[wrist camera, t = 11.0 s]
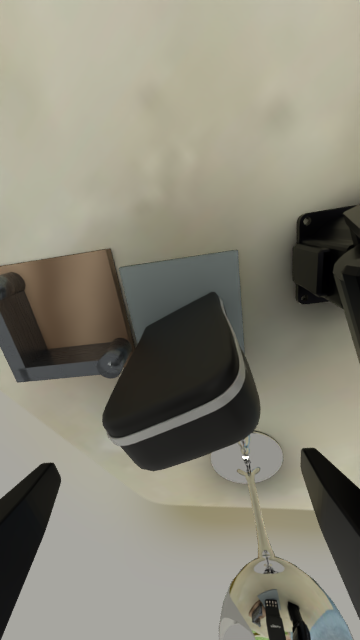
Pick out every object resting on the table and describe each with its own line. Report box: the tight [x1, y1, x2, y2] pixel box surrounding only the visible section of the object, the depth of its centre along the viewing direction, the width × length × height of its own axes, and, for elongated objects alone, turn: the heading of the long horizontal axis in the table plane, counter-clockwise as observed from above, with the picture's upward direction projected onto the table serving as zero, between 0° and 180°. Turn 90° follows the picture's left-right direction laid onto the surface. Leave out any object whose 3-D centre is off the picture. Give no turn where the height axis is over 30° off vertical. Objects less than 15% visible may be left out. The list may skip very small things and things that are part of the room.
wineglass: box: [210, 431, 354, 640], centre depth 17 cm, size 8×8×20 cm
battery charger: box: [102, 292, 260, 471], centre depth 15 cm, size 7×4×11 cm, turn 120°
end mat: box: [119, 250, 245, 355], centre depth 20 cm, size 9×11×1 cm
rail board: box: [0, 249, 135, 367], centre depth 21 cm, size 11×10×1 cm
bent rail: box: [0, 272, 132, 382], centre depth 19 cm, size 9×8×3 cm
